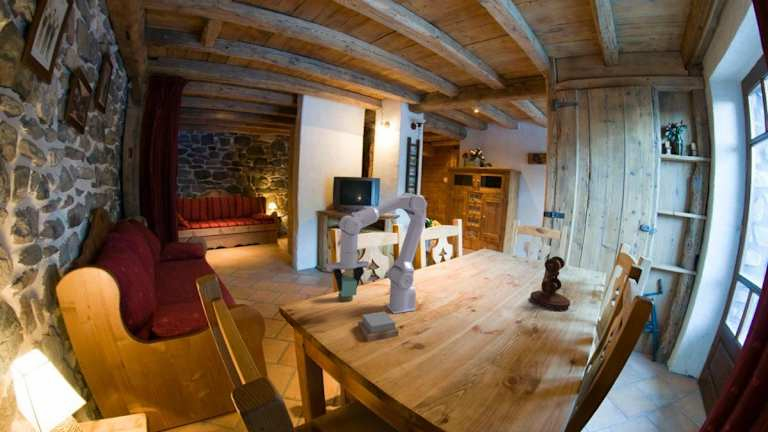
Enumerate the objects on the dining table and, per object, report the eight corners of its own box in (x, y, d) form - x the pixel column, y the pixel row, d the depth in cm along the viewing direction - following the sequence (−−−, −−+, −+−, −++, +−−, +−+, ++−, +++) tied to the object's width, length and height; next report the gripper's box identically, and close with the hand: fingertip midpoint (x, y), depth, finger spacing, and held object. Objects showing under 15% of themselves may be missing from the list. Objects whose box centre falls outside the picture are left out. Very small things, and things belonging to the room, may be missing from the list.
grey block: (384, 318, 103) (384, 311, 103) (394, 329, 96) (395, 322, 95) (362, 322, 100) (362, 314, 99) (371, 334, 92) (371, 326, 92)
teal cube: (351, 289, 108) (352, 276, 108) (356, 295, 104) (356, 281, 103) (338, 291, 106) (338, 277, 106) (342, 296, 102) (342, 282, 101)
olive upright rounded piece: (350, 303, 118) (351, 276, 116) (335, 301, 119) (336, 274, 118) (354, 297, 124) (355, 271, 122) (340, 295, 125) (341, 269, 123)
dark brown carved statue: (537, 293, 138) (542, 251, 135) (573, 304, 128) (580, 259, 125) (524, 302, 128) (530, 256, 125) (563, 314, 117) (570, 265, 115)
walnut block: (385, 323, 105) (385, 316, 104) (397, 338, 96) (398, 330, 95) (357, 327, 101) (358, 320, 100) (368, 343, 92) (368, 335, 91)
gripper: (364, 247, 109) (363, 283, 111) (325, 249, 104) (324, 287, 105) (371, 252, 103) (370, 290, 105) (329, 254, 97) (328, 294, 99)
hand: (347, 289), depth 105 cm, fingers closed on teal cube, 5 cm apart
